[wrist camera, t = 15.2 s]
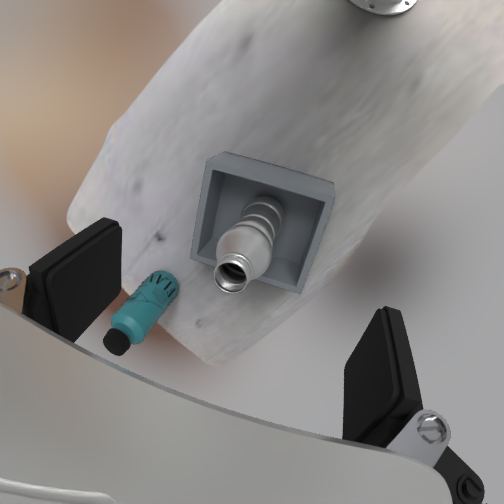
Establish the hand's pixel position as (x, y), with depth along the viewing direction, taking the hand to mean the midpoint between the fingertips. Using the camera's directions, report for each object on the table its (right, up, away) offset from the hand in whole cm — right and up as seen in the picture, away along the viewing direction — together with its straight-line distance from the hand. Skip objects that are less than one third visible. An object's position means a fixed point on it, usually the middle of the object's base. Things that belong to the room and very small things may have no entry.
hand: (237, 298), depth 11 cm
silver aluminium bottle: (+3, +8, +38) cm, 39 cm away
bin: (+3, +8, +39) cm, 40 cm away
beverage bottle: (-16, -4, +49) cm, 52 cm away
